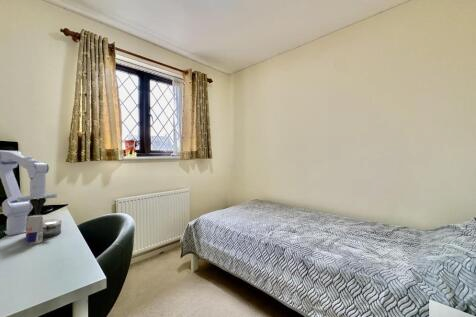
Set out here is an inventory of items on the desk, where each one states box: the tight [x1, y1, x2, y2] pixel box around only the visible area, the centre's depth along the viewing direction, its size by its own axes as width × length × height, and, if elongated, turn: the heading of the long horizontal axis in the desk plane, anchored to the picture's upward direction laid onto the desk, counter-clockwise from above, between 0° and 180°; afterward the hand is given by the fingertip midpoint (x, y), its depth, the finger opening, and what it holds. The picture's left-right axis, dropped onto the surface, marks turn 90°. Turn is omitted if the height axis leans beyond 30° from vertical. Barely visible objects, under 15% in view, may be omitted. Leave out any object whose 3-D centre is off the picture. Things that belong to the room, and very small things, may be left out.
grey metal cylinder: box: [43, 223, 62, 240], centre depth 107 cm, size 13×13×5 cm
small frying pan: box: [25, 218, 63, 230], centre depth 106 cm, size 19×13×1 cm
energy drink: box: [25, 214, 44, 246], centre depth 97 cm, size 5×5×12 cm
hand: (37, 214), depth 107 cm, fingers closed
